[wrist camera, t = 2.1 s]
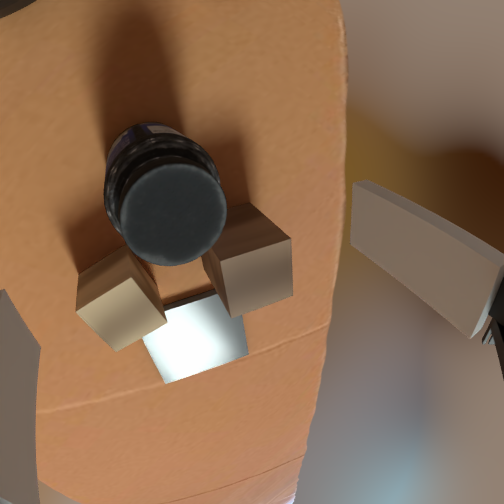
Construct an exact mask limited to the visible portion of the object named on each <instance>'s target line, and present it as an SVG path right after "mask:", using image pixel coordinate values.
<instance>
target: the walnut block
mask: <svg viewBox="0 0 504 504" xmlns="http://www.w3.org/2000/svg"><path fill="white" fill-rule="evenodd" d="M201 257H202V262H203V266H204V270H205V272H206V273H207V275H208V277H209V279H210V281H211V283H212V284H213V286H214V288H215V290H216V292H217V294H218V295H219V297H220V299H221V301H222V303H223V304H224V306H225V308H226V310H227V312H228V313H229V315H230V317H231V319H232V318H234V317H237V316H240V315H243V314H245V313H248V312H251V311H254V310H256V309H259V308H262V307H264V306H267V305H270V304H272V303H275V302H278V301H280V300H283V299H285V298H288V297H290V296H293V276H292V248H291V238H290V237H289V236H288V235H286V234H285V233H284V232H283V231H282V230H281V229H280V228H279V227H277V226H276V225H275V224H274V223H273V222H272V221H271V220H269V219H268V218H267V217H266V216H265V215H264V214H263V213H261V212H260V211H259V210H258V209H257V208H256V207H255V206H253V205H252V204H251V203H247V204H243V205H240V206H236V207H232V208H229V209H227V216H226V221H225V225H224V227H223V231H222V233H221V235H220V237H219V238H218V240H217V241H216V242H215V244H214V245H213V246H212V247H211V248H210V249H209V250H208V251H207V252H205V253H204V254H203V255H202V256H201Z"/></svg>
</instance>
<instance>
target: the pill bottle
mask: <svg viewBox="0 0 504 504" xmlns="http://www.w3.org/2000/svg"><path fill="white" fill-rule="evenodd" d="M104 205H105V208H106V212H107V215H108V217H109V220H110V221H111V223H112V225H113V226H114V228H115V229H116V230H117V231H118V233H119V234H121V236H122V237H123V238H124V240H125V242H126V244H127V245H128V247H129V248H130V249H131V250H132V251H133V252H134V253H135V254H136V255H137V256H138V257H140V258H141V259H143V260H145V261H147V262H150V263H152V264H156V265H160V266H162V265H163V266H176V265H181V264H185V263H188V262H191V261H193V260H195V259H197V258H198V257H200V256H202V255H203V254H204V253H205V252H207V251H208V250H209V249H210V248H211V247H212V246H213V245H214V244H215V242H216V241H217V240H218V238H219V237H220V235H221V233H222V231H223V227H224V225H225V221H226V216H227V203H226V198H225V194H224V192H223V189H222V187H221V186H220V178H219V174H218V171H217V169H216V166H215V164H214V162H213V160H212V158H211V157H210V156H209V154H208V153H207V152H206V151H205V150H204V149H203V148H202V147H201V146H200V145H198V144H197V143H195V142H194V141H192V140H191V139H189V138H187V137H186V136H184V135H182V134H181V133H179V132H177V131H176V130H174V129H172V128H171V127H169V126H167V125H165V124H162V123H158V122H146V123H142V124H137V125H135V126H132V127H130V128H128V129H127V130H125V131H124V132H123V133H122V134H120V135H119V137H118V138H117V139H116V140H115V141H114V143H113V145H112V147H111V149H110V151H109V154H108V157H107V164H106V174H105V184H104Z"/></svg>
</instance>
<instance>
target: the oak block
mask: <svg viewBox="0 0 504 504" xmlns="http://www.w3.org/2000/svg"><path fill="white" fill-rule="evenodd" d="M76 313H77V314H78V315H79V316H80V317H81V318H82V319H83V320H84V321H85V322H86V323H87V324H88V325H89V326H90V327H91V328H92V329H93V330H94V331H95V332H96V333H97V334H98V335H99V336H100V337H101V338H102V339H103V340H104V341H105V342H106V343H107V344H108V345H109V346H110V347H111V348H112V349H113V350H114V351H116V352H117V351H119V350H121V349H123V348H124V347H126V346H128V345H130V344H131V343H133V342H135V341H137V340H138V339H140V338H142V337H144V336H146V335H147V334H149V333H151V332H153V331H154V330H156V329H158V328H160V327H161V326H163V325H165V324H167V323H168V322H167V318H166V315H165V312H164V308H163V305H162V301H161V298H160V294H159V291H158V287H157V285H156V284H155V283H154V281H153V280H152V279H151V277H150V276H149V275H148V273H147V272H146V270H145V269H144V268H143V266H142V265H141V264H140V262H139V261H138V259H137V258H136V256H135V255H134V254H133V252H132V251H131V249H130V248H129V247H128V245H127V244H126V245H124V246H123V247H121V248H119V249H118V250H116V251H115V252H113V253H111V254H110V255H108V256H107V257H105V258H104V259H102V260H100V261H99V262H97V263H96V264H94V265H93V266H91V267H90V268H88V269H86V270H85V271H83V272H82V273H80V274H79V276H78V286H77V298H76Z"/></svg>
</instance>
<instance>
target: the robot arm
mask: <svg viewBox="0 0 504 504" xmlns="http://www.w3.org/2000/svg"><path fill="white" fill-rule="evenodd" d="M34 1H36V0H0V18H2V17H5V16H7V15H10V14H12V13H14V12H16V11H18V10H20V9H22V8H24V7H26V6H28V5H29V4H31V3H33V2H34ZM352 194H353V195H352V217H351V235H350V244H351V245H352V246H353V247H355V248H356V249H357V250H359V251H360V252H361V253H363V254H364V255H365V256H367V257H368V258H370V259H371V260H372V261H373V262H375V263H376V264H377V265H379V266H380V267H381V268H383V269H384V270H385V271H387V272H388V273H389V274H391V275H392V276H393V277H394V278H396V279H397V280H398V281H400V282H401V283H402V284H403V285H405V286H406V287H407V288H409V289H410V290H411V291H412V292H413V293H415V294H416V295H417V296H418V297H420V298H421V299H422V300H424V301H425V302H426V303H427V304H428V305H430V306H431V307H432V308H433V309H435V310H436V311H437V312H438V313H439V314H441V315H442V316H443V317H444V318H445V319H447V320H448V321H449V322H450V323H451V324H453V325H454V326H455V327H456V328H457V329H458V330H460V331H461V332H462V333H463V334H464V335H466V336H467V337H468V338H469V339H471V338H472V337H473V336H474V335H475V334H476V333H477V332H478V331H479V330H480V329H481V328H482V326H483V324H484V322H485V320H486V318H487V316H488V314H489V315H490V316H491V317H492V320H491V322H490V324H489V326H488V328H487V330H486V332H485V334H484V336H483V338H482V344H485V343H486V341H487V339H488V337H489V335H490V334H492V336H491V338H490V340H489V343H488V344H495V346H496V350H497V353H498V357H499V361H500V366H501V370H502V374H503V379H504V254H503V253H501V252H499V251H498V250H496V249H495V248H493V247H492V246H490V245H488V244H487V243H485V242H483V241H482V240H480V239H479V238H477V237H475V236H474V235H472V234H470V233H468V232H467V231H465V230H463V229H461V228H460V227H458V226H456V225H455V224H453V223H451V222H449V221H448V220H446V219H444V218H442V217H440V216H438V215H437V214H435V213H433V212H431V211H429V210H427V209H425V208H423V207H422V206H420V205H418V204H416V203H414V202H412V201H410V200H408V199H406V198H404V197H402V196H400V195H398V194H396V193H394V192H392V191H390V190H388V189H386V188H384V187H382V186H379V185H377V184H375V183H373V182H371V181H368V180H364V181H360V182H356V183H353V192H352ZM40 349H41V346H40V345H39V344H38V342H37V341H36V339H35V338H34V336H33V335H32V333H31V332H30V330H29V329H28V327H27V326H26V324H25V322H24V321H23V319H22V318H21V316H20V314H19V313H18V311H17V310H16V308H15V306H14V304H13V303H12V301H11V299H10V298H9V296H8V294H7V292H6V291H5V289H3V290H0V504H40V500H39V491H38V482H37V467H36V442H35V419H36V393H37V379H38V368H39V358H40Z"/></svg>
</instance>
